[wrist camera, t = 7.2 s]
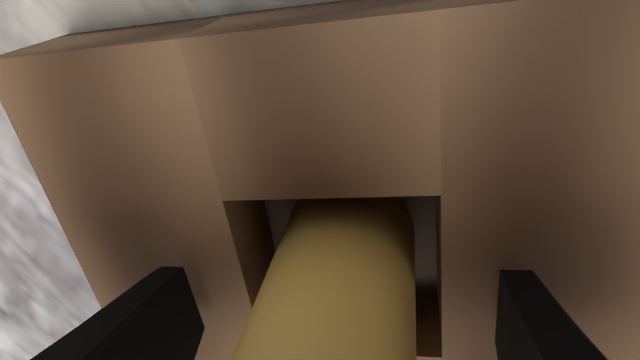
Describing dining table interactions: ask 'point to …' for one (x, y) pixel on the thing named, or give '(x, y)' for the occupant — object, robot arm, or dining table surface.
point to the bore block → (352, 152)
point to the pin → (337, 285)
